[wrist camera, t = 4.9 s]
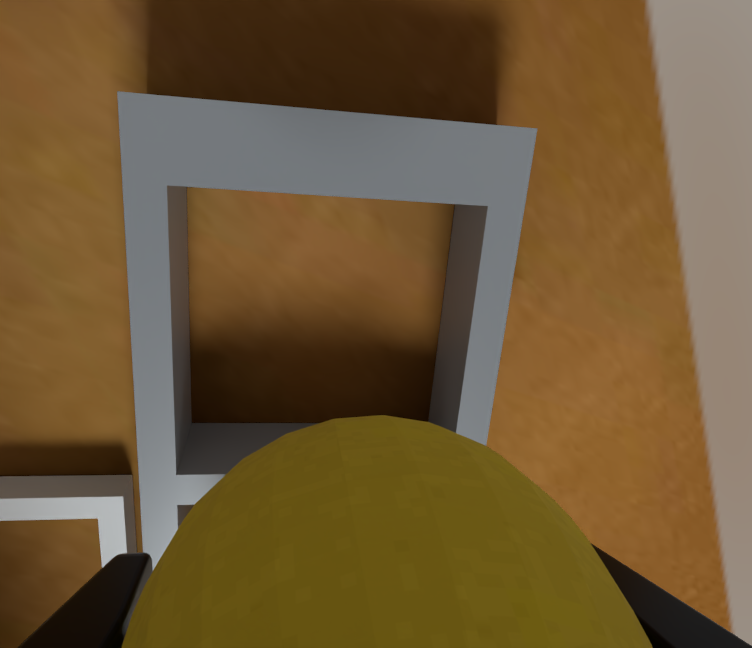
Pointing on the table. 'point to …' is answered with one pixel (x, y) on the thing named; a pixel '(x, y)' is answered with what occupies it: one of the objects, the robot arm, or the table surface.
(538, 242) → the table surface
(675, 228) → the table surface
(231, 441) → the grey double frame tray
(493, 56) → the table surface
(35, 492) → the frame
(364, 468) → the lemon
